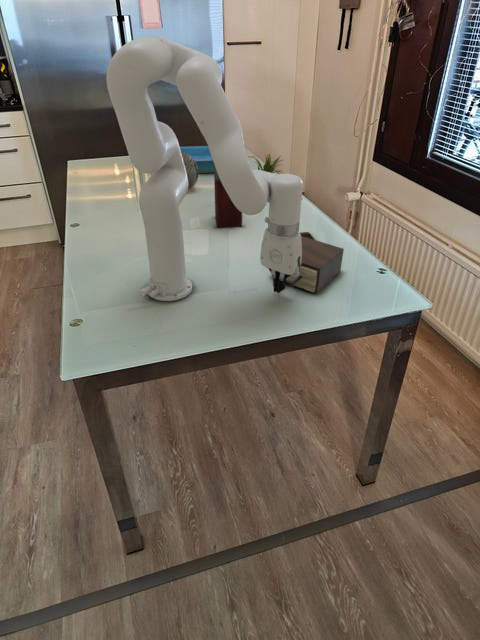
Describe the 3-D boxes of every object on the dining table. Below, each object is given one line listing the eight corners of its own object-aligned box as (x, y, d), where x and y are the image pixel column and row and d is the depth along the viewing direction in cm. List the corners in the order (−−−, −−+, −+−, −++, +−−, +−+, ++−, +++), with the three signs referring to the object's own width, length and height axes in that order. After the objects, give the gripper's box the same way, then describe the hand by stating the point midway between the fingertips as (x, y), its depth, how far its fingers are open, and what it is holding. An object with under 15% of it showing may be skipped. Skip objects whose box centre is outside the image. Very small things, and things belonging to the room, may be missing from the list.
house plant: (291, 199, 185) (295, 157, 175) (260, 204, 181) (261, 161, 171) (276, 187, 196) (278, 147, 186) (246, 191, 192) (247, 151, 182)
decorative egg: (194, 195, 188) (192, 157, 179) (167, 193, 190) (163, 155, 181) (201, 185, 197) (200, 149, 189) (175, 183, 199) (172, 147, 190)
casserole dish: (152, 177, 205) (150, 161, 201) (153, 161, 223) (152, 146, 219) (235, 174, 209) (235, 158, 204) (230, 159, 227) (230, 144, 222)
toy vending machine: (238, 214, 172) (239, 135, 156) (242, 227, 163) (243, 145, 147) (214, 215, 172) (212, 136, 155) (216, 227, 163) (214, 145, 146)
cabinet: (317, 294, 128) (320, 268, 123) (272, 278, 135) (274, 253, 130) (340, 272, 138) (343, 248, 133) (297, 259, 145) (299, 235, 140)
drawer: (303, 301, 123) (305, 281, 120) (261, 286, 130) (262, 266, 126) (335, 272, 136) (338, 253, 132) (296, 259, 142) (297, 241, 139)
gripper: (249, 223, 115) (248, 287, 125) (302, 240, 108) (295, 306, 118) (266, 214, 120) (263, 276, 130) (318, 229, 112) (310, 293, 123)
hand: (279, 290), depth 124 cm, fingers closed
